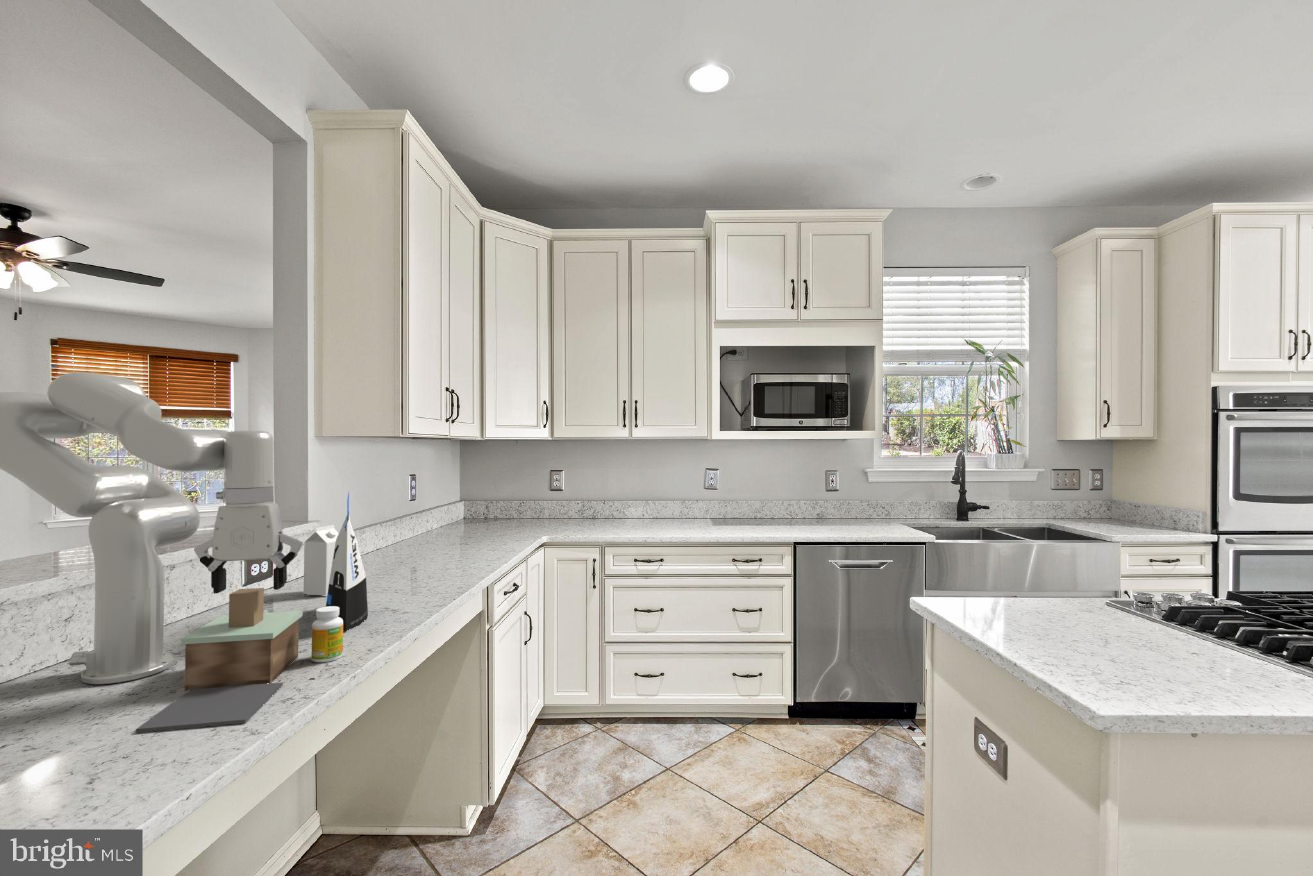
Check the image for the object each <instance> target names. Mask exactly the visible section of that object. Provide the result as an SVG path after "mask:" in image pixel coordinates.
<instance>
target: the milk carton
mask: <svg viewBox="0 0 1313 876" xmlns="http://www.w3.org/2000/svg"><path fill="white" fill-rule="evenodd" d="M314 529H315V530H314V531H315V532H314V533H312V534H311V535H310V536H309V537H308V538H307V539H306V540H305V541H303V543H304V547H303V551H304V553H303V595H304V594H309V595H327V594H328V587H329V580H330V574H331V567H332V561H333V555H334V549H335V543H336V539H337V536H338V534H339V532H338V531H337V530H336V528H335V524H330V525H324V526H319V527H315V528H314ZM309 595H308V596H309Z"/></svg>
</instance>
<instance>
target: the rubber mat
mask: <svg viewBox="0 0 1313 876" xmlns="http://www.w3.org/2000/svg"><path fill="white" fill-rule="evenodd" d="M283 683H284V682H273V683H272V682H271V683H269V684H256V685H243V686H230V687H217V688H204V689H190V690H186V692H185V693H183V694H182V695H181V696H179V697H178V698H176V699H175V700H173V701H172V702H170V704H168V705H167V706H165V707H164V708H163V709H162V710H160V711H158V712H157V713H156V714H155V715H153V716H152V717H150V718H149V719H148V720H147V721H145V722H144V723H142V724H141V725H140V726H138V727H137V728H135V733H136V734H142V732H144V733H152V732H151V731H155V732H164V730H166V731H172V730H171V729H177V730H185V729H184V728H188V729H199V728H207V727H206V726H211V727H220V725H222V726H230V725H229V724H233V725H242V723H244V724H247V722H249V720H251V718H252V717H254V715H256V713H257V712H258V711H259V710H260V709H262V707H263V706H264V705H265V704H266V703H267V702H268V701H269V700H270V699H271V698H273V696H274V695H275V694H276V693H278V691H280V689H281V688H282V687H283V686H284V684H283ZM281 686H282V687H281ZM279 688H280V689H279ZM277 690H278V691H277ZM272 695H273V696H272ZM270 697H271V698H270ZM268 699H269V700H268ZM266 701H267V702H266ZM263 704H264V705H263ZM240 723H241V724H240ZM227 724H228V725H227ZM162 730H163V731H162ZM149 731H150V732H149Z"/></svg>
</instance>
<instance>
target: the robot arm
mask: <svg viewBox="0 0 1313 876" xmlns="http://www.w3.org/2000/svg"><path fill="white" fill-rule="evenodd" d="M99 431H103V432H106V433H108V434H110V435H112V436H115V437H117V438H118V439H119V440H118V441H119V442H120V444H121V445H122V446H123V447H124V449H125V451H127V452H128V453H129V454H131V455H133V456H134V457H136V458H138V459H140V460H143V461H145V462H148V463H150V464H152V465H154V466H157V467H158V468H160V469H161V468H162V469H165V470H168V471H171V472H179V473H185V472H187V473H188V472H204V471H205V472H212V471H224V475H223V476H224V480H223V485H224V486H223V487H224V488H222V491H217V492H216V493H215V498H216V500H222V504H224V505H218V509H217V513H216V516H215V522H214V528H213V536H212V538H211V539H209V540H206V541H204V542H203V543H201V544H199V545H197V546H195V547H194V549H193V552H195V554H196V557H197V558H198V559H199V562H200V563H201V564H202V565H203V566H205V568H207V570H208V572H210V573H211V574H210V575H211V576H210V580H211V581H210V585H211V586H210V587H211V589H213V590H212V591H213V594H219V593H221V592H224V591H225V590H227V569H226V567H224V566H225V564H227V563H228V562H234V561H235V562H237V561H239V562H241V561H257V560H268V559H269V560H270V561H271V562H272V563H273V564H274V565H275V568H273V570H272V571H273V575H272V576H273V584H272V585H273V586H272V587H273V590H274V591H279V590H280V589H282V588H283V587H285V585H286V584H287V581H288V570H287V569H288V565H289V564H290V563H291V562H292V561H293V560H294V559H295V558H296V557H297V556H298V554H299V552H300V550H301V549H302V547H303V543H304V542H303V541H301V540H298V539H297V538H294V537H292V536H289V535H287V534H285V533H284V532H283V531H284V530H283V524H282V517H281V512H280V508H279V504H278V503H277V502H274V500H275V499H274V497H275V496H274V495H275V490H274V489H275V488H274V487H275V485H274V484H275V483H274V479H275V478H274V477H275V476H274V475H275V472H274V469H275V466H274V465H275V463H274V462H275V461H274V460H275V459H274V451H275V450H274V448H275V447H274V436H273V435H272V434H271V433H270V432H268V431H263V430H233V431H226V430H225V431H224V430H210V429H188V428H187V429H184V428H181V427H177V426H175V425H173V424H171V423H168V422H164V421H163V420H162V408H161V406H160V404H158V402H156V401H155V400H153V399H152V398H149V397H147V394H146V392H145V390H144V389H143V388H142V386H141V384H138V383H137V382H135V381H134V380H132V379H129V378H126V377H122V376H116V375H110V374H100V373H92V372H83V371H81V372H80V371H77V372H75V371H74V372H68V373H65V374H62V375H59V376H58V377H56V378H55V379H53V380H52V381H51V382H50V384H49V385H48V388H47V394H44V393H33V392H20V391H18V392H17V391H2V392H0V470H2V471H4V472H5V473H7V474H8V475H10V476H12V477H13V478H15V479H17V480H18V481H20V482H21V483H23V484H24V485H25V486H27V487H28V488H29V489H30V490H32V491H33V492H35V493H37V494H38V495H39V496H41V497H42V498H43V499H45V500H46V501H47V502H49V503H50V504H51V505H53V506H54V507H56V508H57V509H59V510H60V511H62V512H63V513H65V514H67V515H69V516H70V517H75V518H90V521H89V523H88V528H87V530H88V531H87V533H88V539H89V543H90V547H91V550H92V555H93V561H94V573H95V574H94V591H95V592H94V625H93V626H94V628H93V629H94V631H93V632H94V633H93V634H94V636H93V639H94V640H93V650H89V651H88V650H80V651H78V650H77V651H73V653H71V656H70V659H69V661H68V664H69V666H81V665H84V666H85V669H84V671H82V672H81V674H80V680H81V682H82V683H85V684H89V685H106V684H107V685H109V684H118V683H123V682H129V681H133V680H138V679H142V678H143V679H144V678H146V677H149V676H153V675H155V674H158V673H160V672H163V671H165V670H167V669H169V668H170V667H172V665H174V659H175V658H174V656H173V655H171V654H169V653H164V632H165V631H164V628H165V625H164V624H165V623H164V622H165V621H164V620H165V586H166V585H165V569H164V564H163V562H162V560H161V558H160V557H159V555H158V553H157V552H156V551H157V550H156V549H155V548H157V547H162V546H167V545H173V544H177V543H181V542H183V541H185V540H187V539H189V538H191V537H192V536H193V535H195V533H196V532H197V531H198V529H199V528H200V524H201V516H200V513H199V510H198V508H197V507H196V505H195V504H194V503H193V501H191V500H190V499H189V498H188V497H186V496H185V495H184V494H183V493H181V492H179V490H177V489H175V488H174V487H173V486H171V485H170V484H168V483H166V482H165V481H164V480H162V479H161V478H160V477H158V476H157V475H155V474H154V473H153V472H150V471H148V470H147V469H144V468H141V467H138V466H132V465H98V464H94V463H92V462H89V461H87V460H86V459H84V458H82V456H80V455H78V454H77V453H75V451H73V450H72V449H70V448H69V447H66V446H64V445H62V444H60V443H58V442H55V441H53V440H49V439H63V440H64V439H75V438H80V437H85V436H88V435H91V434H92V433H96V432H99ZM284 545H287V546H289V547H290V550H289V551H288V552H287V554H286V555H285V554H284V553H283V551H284V550H283V549H284ZM211 548H212V549H211ZM209 549H211V550H212V551H211V552H212V555H210V553H209Z"/></svg>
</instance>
